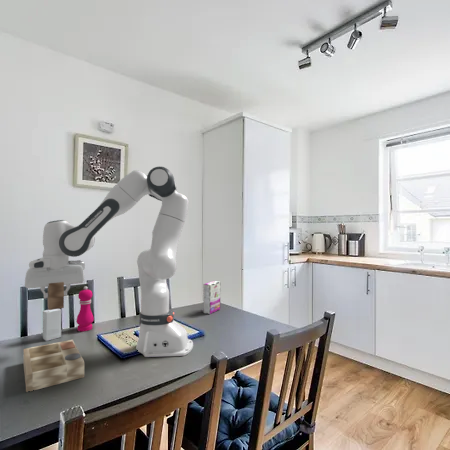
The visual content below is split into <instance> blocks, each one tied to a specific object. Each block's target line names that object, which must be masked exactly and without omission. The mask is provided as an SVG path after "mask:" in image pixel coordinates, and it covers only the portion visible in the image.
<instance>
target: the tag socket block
mask: <svg viewBox="0 0 450 450" xmlns="http://www.w3.org/2000/svg"><path fill="white" fill-rule="evenodd" d="M74 341H75V340H74V339H69V340H63V341H57V342H53V343H52V342H51V343H48V344H43V345H36V346H31V347H26V348H23V357H22V358H23V371H24V382H25V392H26V393H29V392H28V391H30V392H33V390H34V391H37V390H40V389H43V388H48V387H53V386H56V385H61V384H63V383H68V382H71V381H75V380H79V379H83V378H85V360H84V358H83V356H82V355H81V353H80V351H79V349H78V347H77V345H76V343H75V342H74Z"/></svg>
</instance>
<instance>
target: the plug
mask: <svg viewBox="0 0 450 450" xmlns="http://www.w3.org/2000/svg"><path fill="white" fill-rule="evenodd" d="M64 291H65V285H64V282H59V283H49V286H48V287H47V293H48V294H49V295H48V296H49V298H47V310H53V309H64V307H65V301H64V300H65V296H64Z"/></svg>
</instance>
